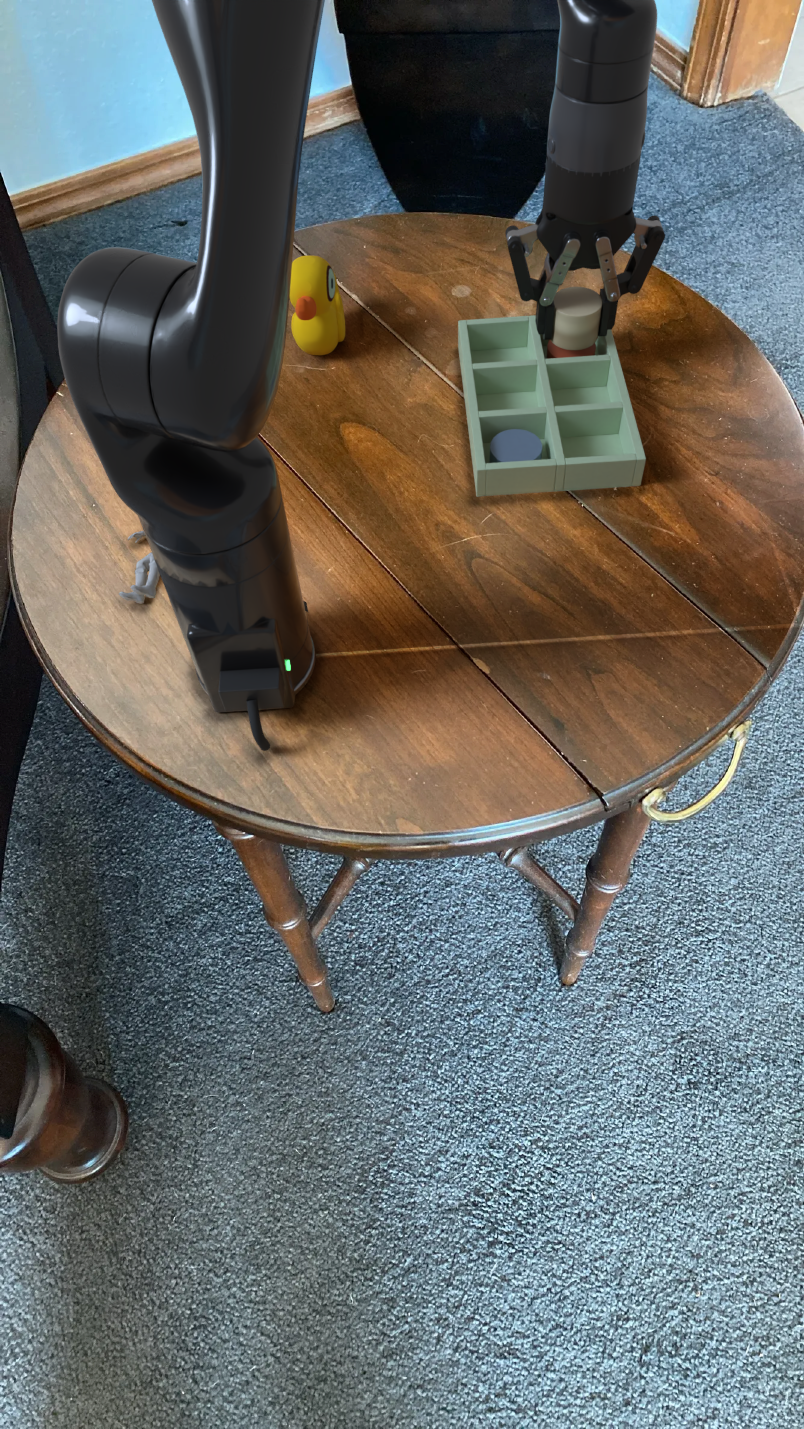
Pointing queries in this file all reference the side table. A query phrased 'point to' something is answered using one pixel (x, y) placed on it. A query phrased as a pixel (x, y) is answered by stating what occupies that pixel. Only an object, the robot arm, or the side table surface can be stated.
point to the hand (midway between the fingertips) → (573, 332)
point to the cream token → (576, 318)
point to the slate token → (515, 446)
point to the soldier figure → (143, 576)
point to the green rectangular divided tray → (546, 410)
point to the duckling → (316, 306)
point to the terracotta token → (568, 351)
